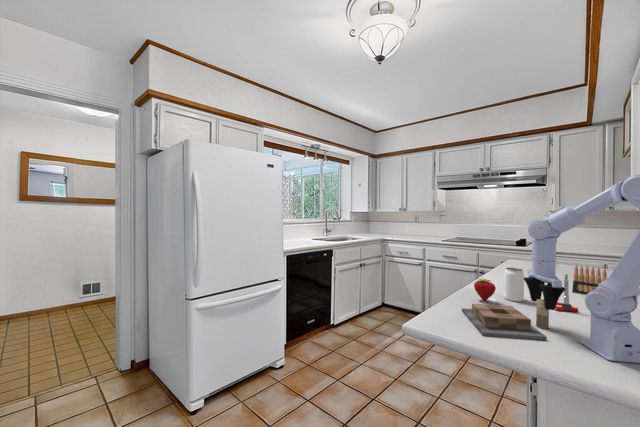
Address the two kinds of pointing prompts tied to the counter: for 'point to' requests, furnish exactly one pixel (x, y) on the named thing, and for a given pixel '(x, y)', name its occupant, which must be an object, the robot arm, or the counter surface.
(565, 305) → the tow hook
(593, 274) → the ammunition clip
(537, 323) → the peg
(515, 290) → the can
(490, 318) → the holder
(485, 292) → the strawberry
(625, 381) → the counter surface
